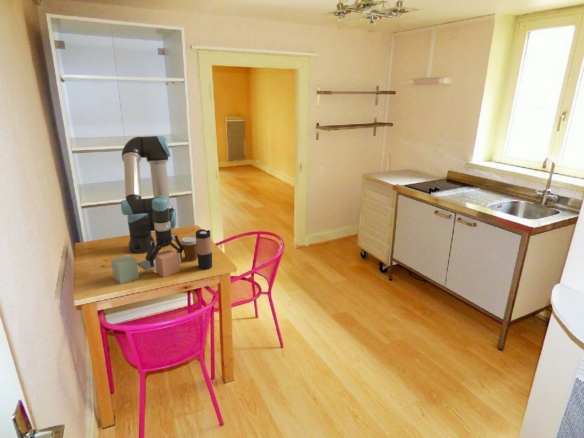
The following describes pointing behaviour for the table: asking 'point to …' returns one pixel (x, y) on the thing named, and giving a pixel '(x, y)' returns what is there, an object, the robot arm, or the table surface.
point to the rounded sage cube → (124, 268)
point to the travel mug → (204, 249)
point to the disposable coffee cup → (190, 248)
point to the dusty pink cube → (167, 262)
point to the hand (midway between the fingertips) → (167, 267)
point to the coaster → (145, 264)
